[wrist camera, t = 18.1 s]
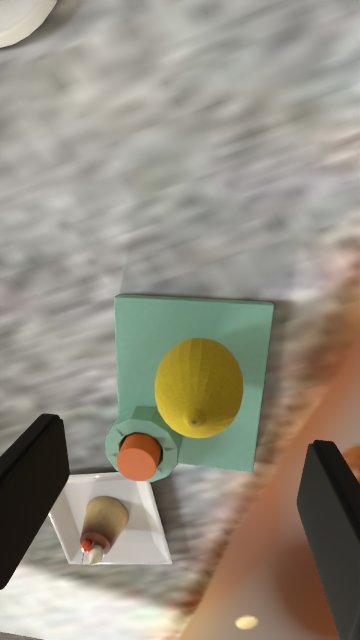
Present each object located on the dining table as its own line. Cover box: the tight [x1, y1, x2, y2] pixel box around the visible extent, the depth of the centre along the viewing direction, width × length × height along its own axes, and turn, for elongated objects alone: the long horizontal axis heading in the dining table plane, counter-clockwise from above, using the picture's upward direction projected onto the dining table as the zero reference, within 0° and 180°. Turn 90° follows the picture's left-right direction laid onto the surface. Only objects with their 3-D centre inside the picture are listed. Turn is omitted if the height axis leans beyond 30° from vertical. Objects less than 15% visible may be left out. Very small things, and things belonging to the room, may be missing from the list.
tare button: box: [116, 433, 161, 482], centre depth 21 cm, size 3×3×2 cm
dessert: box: [49, 472, 172, 565], centre depth 26 cm, size 12×12×5 cm
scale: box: [105, 294, 274, 482], centre depth 21 cm, size 16×12×3 cm
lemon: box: [155, 338, 244, 438], centre depth 17 cm, size 6×6×8 cm
